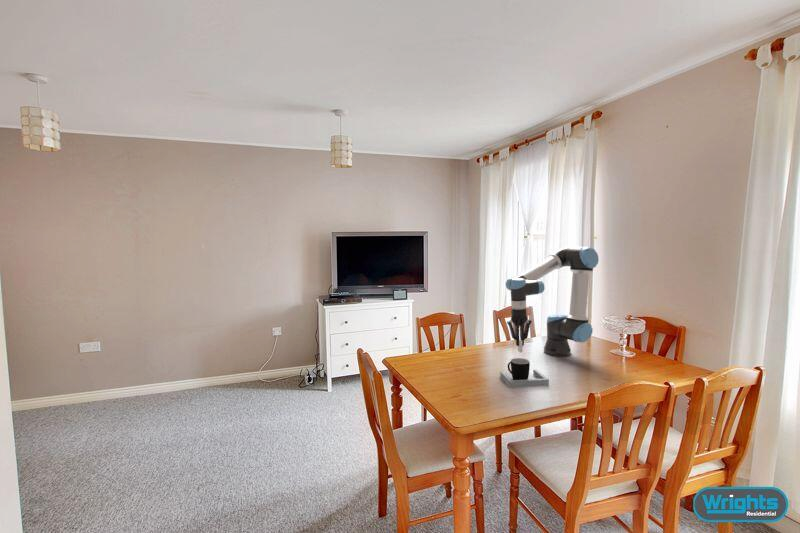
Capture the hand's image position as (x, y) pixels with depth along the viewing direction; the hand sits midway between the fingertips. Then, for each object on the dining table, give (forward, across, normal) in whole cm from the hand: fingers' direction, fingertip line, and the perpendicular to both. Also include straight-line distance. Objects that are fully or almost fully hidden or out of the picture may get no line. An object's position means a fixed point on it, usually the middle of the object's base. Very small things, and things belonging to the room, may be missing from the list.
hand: (520, 351), depth 201 cm
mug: (+10, -7, -12) cm, 17 cm away
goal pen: (+10, -4, -15) cm, 19 cm away
